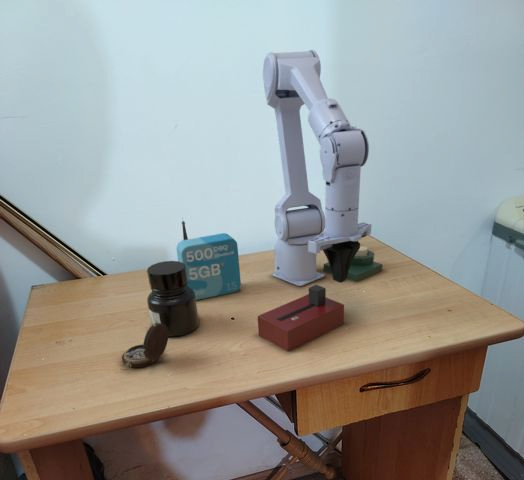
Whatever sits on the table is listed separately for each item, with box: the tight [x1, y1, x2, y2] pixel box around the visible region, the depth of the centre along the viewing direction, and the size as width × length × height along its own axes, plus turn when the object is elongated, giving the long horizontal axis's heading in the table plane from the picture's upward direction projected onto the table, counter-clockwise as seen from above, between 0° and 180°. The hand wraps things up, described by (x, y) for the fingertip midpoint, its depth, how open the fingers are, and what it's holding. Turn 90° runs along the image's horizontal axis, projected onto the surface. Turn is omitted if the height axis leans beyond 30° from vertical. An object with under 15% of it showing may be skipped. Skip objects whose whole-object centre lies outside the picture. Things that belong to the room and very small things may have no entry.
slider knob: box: [308, 284, 327, 306], centre depth 86 cm, size 2×2×3 cm
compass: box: [119, 323, 169, 371], centre depth 78 cm, size 8×8×7 cm
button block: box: [323, 249, 383, 283], centre depth 109 cm, size 10×10×4 cm
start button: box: [355, 245, 369, 257], centre depth 109 cm, size 3×3×2 cm
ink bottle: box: [146, 260, 200, 337], centre depth 87 cm, size 10×9×12 cm
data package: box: [176, 232, 242, 301], centre depth 100 cm, size 12×4×12 cm, turn 112°
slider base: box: [257, 293, 345, 352], centre depth 85 cm, size 8×14×4 cm, turn 130°
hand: (339, 280), depth 88 cm, fingers closed
